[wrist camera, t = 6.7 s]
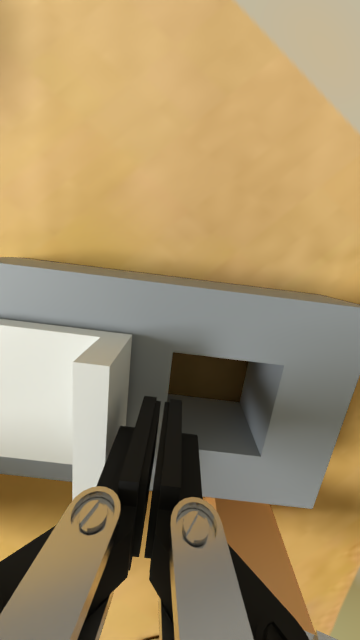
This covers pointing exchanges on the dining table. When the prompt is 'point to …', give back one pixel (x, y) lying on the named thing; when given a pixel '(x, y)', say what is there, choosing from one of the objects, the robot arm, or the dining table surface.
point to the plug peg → (262, 551)
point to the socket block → (214, 341)
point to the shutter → (62, 395)
